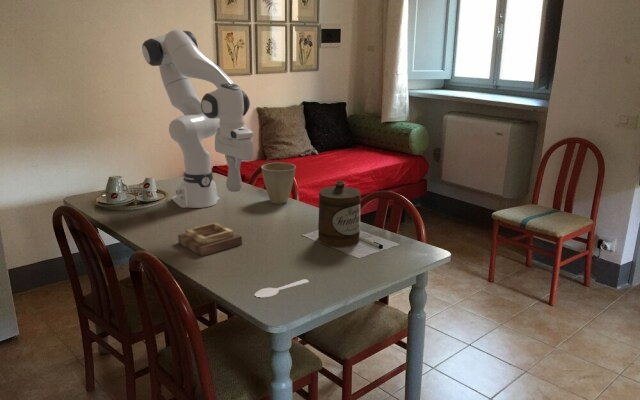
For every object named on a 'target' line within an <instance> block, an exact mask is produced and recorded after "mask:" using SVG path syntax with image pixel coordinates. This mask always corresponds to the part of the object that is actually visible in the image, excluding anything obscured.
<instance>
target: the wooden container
mask: <svg viewBox="0 0 640 400" xmlns="http://www.w3.org/2000/svg"><path fill="white" fill-rule="evenodd" d="M318 194H319V195H318V199H319V202H318V228H317V229H318V232H317V234H318V237H317V239H318V241H319V242H320V243H321V244H323V245H325V246H327V247H333V248H346V247H347V246H348V247H352V246H355V245H356V244H358V243H359V242H360V234H361V233H360V230H361V191H360V189H357V188H355V187H350V186H345V182H344V181H343V180H337V181H335V182H334V186H327V187H322V188H321V189H320V190H319V193H318Z"/></svg>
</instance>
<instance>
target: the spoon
mask: <svg viewBox="0 0 640 400" xmlns="http://www.w3.org/2000/svg"><path fill="white" fill-rule="evenodd" d="M308 283H310V281H309V279H306V278H303V279H301V280H297V281H295V282H292V283H289V284H286V285H283V286H280V287H263V288H261V289H259V290H258V291H255V293H254V297H255V296H256V297H255V298H258V297H260V299H264V298H265V299H266V297H267V298H271V297H275V296H277V295H278V294H279V292H280V291H282V290H287V289H289V288H293V287H297V286H301V285H304V284H308Z"/></svg>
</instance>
